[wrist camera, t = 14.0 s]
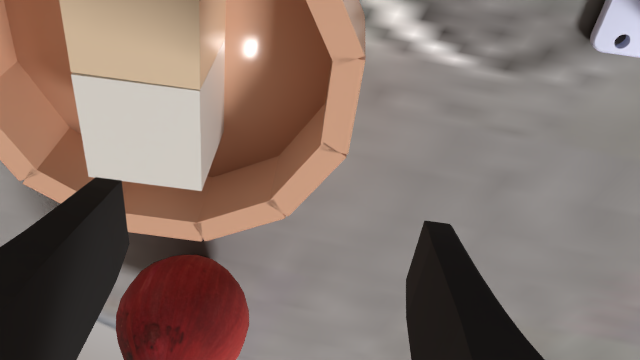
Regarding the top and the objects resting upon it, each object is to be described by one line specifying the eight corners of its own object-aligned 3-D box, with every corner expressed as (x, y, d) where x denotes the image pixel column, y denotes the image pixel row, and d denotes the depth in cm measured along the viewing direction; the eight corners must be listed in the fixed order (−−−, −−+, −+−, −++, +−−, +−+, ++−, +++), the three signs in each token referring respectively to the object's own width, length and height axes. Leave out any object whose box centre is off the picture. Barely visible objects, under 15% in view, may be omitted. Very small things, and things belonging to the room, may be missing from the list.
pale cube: (224, 39, 21) (199, 90, 17) (223, 131, 23) (201, 191, 20) (116, 25, 21) (70, 74, 17) (126, 118, 23) (88, 176, 20)
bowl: (393, -145, 17) (399, -126, 14) (332, 203, 26) (328, 258, 23) (-67, -213, 17) (-152, -207, 14) (25, 162, 25) (-17, 213, 23)
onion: (127, 268, 29) (61, 411, 23) (177, 200, 26) (117, 344, 20) (224, 315, 31) (188, 460, 25) (281, 257, 28) (257, 405, 22)
